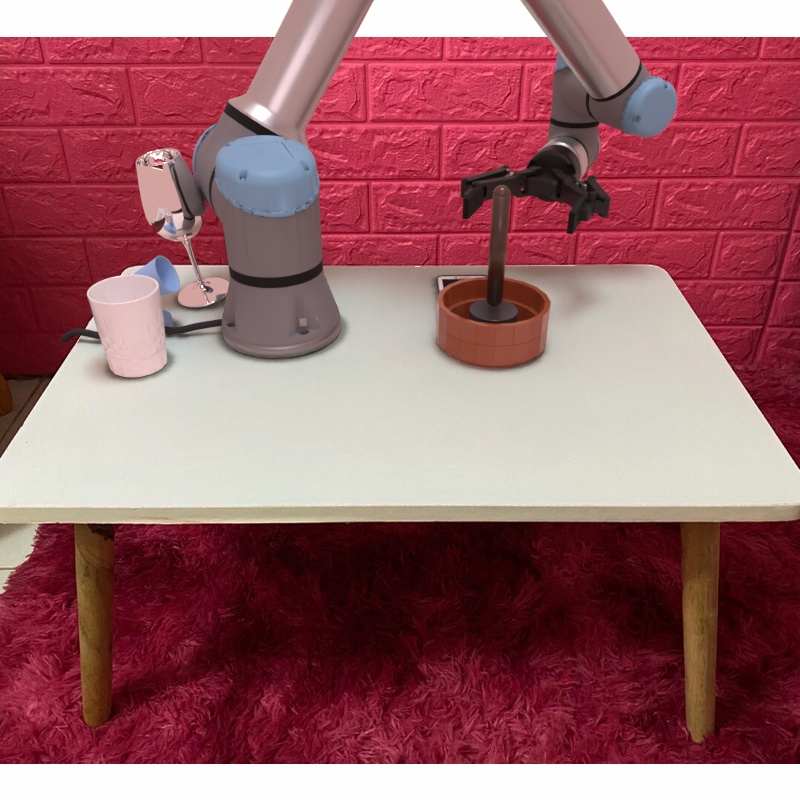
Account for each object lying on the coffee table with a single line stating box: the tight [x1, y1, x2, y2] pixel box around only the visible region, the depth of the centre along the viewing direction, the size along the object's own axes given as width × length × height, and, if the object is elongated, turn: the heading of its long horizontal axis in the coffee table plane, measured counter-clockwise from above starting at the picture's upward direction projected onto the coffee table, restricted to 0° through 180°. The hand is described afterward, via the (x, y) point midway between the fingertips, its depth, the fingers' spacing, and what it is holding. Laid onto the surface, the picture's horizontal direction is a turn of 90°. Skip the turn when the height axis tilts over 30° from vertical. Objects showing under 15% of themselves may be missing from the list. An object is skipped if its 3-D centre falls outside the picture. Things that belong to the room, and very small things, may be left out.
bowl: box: [435, 277, 552, 369], centre depth 96 cm, size 14×14×6 cm
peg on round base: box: [469, 185, 518, 324], centre depth 92 cm, size 6×6×20 cm
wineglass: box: [135, 147, 230, 309], centre depth 102 cm, size 8×8×20 cm
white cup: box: [86, 274, 168, 378], centre depth 91 cm, size 8×8×10 cm
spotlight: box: [132, 255, 181, 335], centre depth 99 cm, size 5×10×7 cm
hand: (516, 216), depth 97 cm, fingers open, 13 cm apart
